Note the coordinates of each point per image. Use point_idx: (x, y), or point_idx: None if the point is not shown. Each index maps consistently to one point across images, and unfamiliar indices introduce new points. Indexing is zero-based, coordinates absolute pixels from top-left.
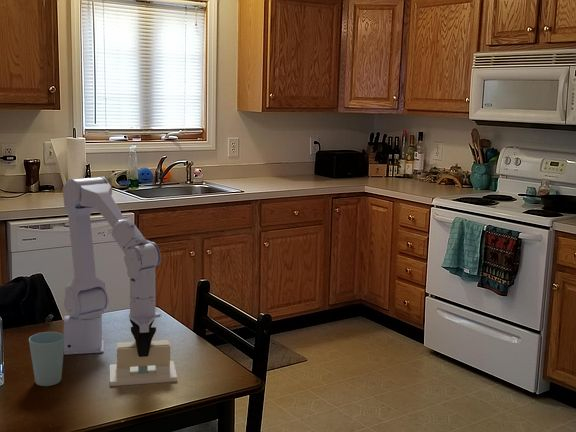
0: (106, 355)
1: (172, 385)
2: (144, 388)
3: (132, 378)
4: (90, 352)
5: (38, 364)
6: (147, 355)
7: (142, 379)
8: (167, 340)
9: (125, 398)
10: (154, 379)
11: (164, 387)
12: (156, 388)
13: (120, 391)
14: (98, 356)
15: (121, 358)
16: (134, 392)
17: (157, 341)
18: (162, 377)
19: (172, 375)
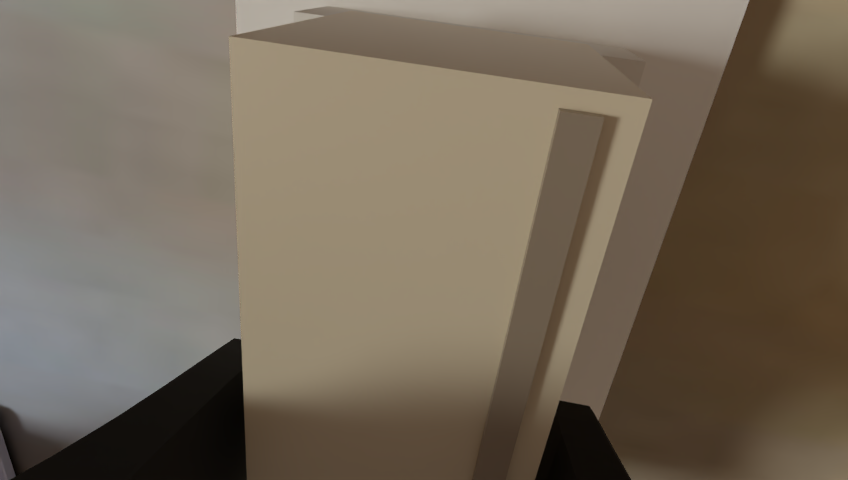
0: (35, 397)
1: (811, 55)
2: (725, 310)
3: (571, 386)
4: (10, 474)
5: None
6: (599, 423)
7: (628, 325)
8: (263, 77)
9: (827, 459)
10: (666, 226)
11: (809, 147)
12: (786, 222)
13: (683, 458)
14: (55, 438)
15: None
16: (758, 389)
17: (292, 287)
18: (677, 148)
19: (677, 25)
